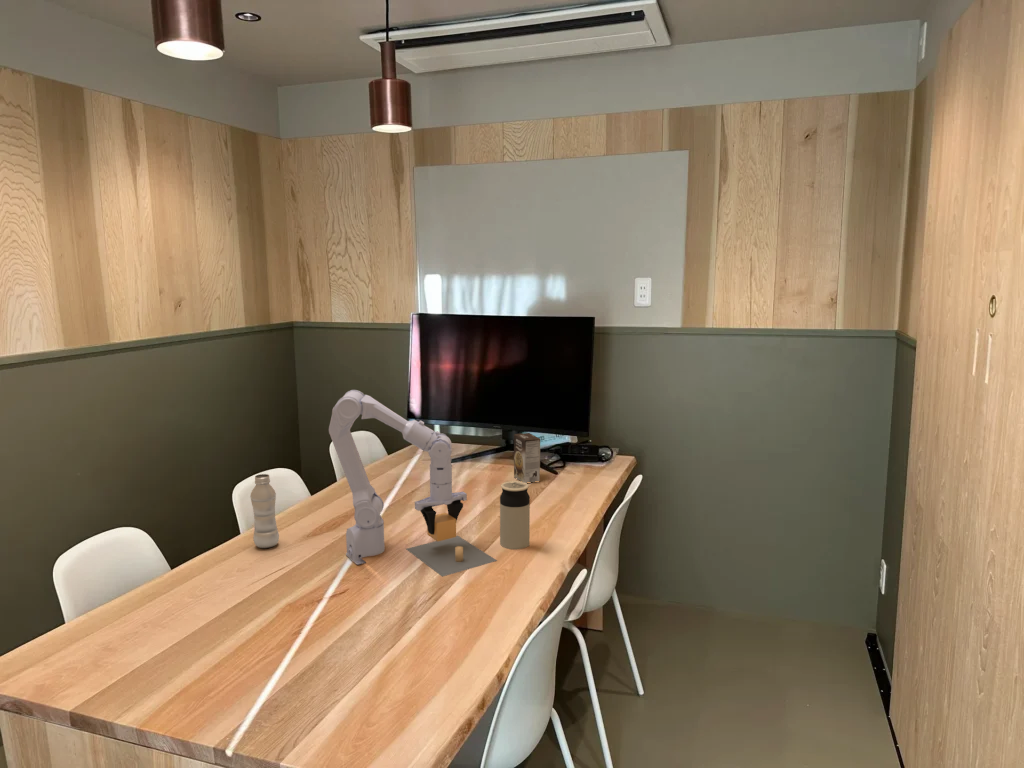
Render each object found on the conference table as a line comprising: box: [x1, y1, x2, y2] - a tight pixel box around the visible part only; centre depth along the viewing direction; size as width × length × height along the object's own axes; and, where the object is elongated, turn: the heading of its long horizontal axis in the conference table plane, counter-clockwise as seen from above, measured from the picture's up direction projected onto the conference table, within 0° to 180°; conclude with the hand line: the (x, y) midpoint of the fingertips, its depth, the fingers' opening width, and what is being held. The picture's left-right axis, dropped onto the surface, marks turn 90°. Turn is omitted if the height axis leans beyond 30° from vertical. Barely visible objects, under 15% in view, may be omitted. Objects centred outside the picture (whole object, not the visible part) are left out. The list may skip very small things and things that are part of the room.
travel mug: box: [499, 480, 531, 550], centre depth 187 cm, size 8×8×18 cm
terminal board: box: [405, 535, 498, 577], centre depth 180 cm, size 16×20×5 cm
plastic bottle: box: [249, 473, 280, 549], centre depth 188 cm, size 6×7×20 cm
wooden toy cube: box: [426, 512, 457, 542], centre depth 183 cm, size 6×6×5 cm
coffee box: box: [513, 432, 541, 483], centre depth 246 cm, size 9×6×16 cm
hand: (441, 530), depth 183 cm, fingers closed on wooden toy cube, 6 cm apart
